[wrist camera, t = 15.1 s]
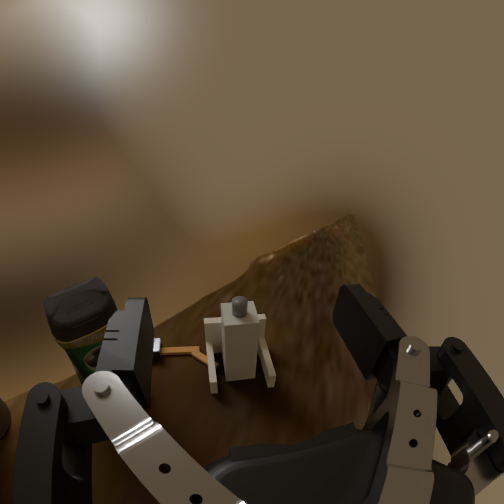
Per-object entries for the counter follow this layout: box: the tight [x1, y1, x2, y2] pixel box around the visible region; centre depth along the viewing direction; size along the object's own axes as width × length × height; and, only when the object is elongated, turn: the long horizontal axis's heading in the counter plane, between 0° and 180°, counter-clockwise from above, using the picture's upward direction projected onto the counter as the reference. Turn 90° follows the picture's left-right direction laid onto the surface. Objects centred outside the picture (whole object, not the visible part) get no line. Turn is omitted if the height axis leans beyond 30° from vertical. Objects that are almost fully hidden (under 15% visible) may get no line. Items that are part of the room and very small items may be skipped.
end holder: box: [204, 314, 276, 394], centre depth 41 cm, size 10×9×7 cm
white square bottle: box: [221, 296, 260, 381], centre depth 39 cm, size 4×4×14 cm
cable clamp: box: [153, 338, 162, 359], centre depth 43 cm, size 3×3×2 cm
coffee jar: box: [44, 277, 118, 385], centre depth 32 cm, size 10×8×19 cm
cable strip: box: [161, 346, 219, 369], centre depth 43 cm, size 10×5×1 cm, turn 100°
